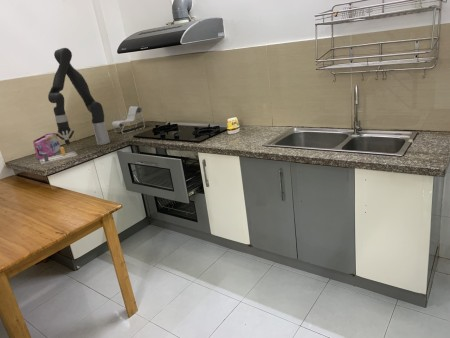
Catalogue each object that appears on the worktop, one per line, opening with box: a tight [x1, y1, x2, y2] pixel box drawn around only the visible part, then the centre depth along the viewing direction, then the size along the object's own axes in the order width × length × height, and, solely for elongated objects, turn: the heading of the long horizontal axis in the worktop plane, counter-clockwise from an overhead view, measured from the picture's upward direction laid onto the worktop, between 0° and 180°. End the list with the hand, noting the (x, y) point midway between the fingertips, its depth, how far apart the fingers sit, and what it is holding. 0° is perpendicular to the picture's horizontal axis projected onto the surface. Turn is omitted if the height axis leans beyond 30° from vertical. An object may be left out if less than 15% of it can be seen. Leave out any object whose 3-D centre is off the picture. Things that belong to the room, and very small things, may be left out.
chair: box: [111, 105, 146, 135], centre depth 313 cm, size 13×25×20 cm, turn 134°
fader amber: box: [59, 146, 66, 155], centre depth 255 cm, size 2×4×5 cm
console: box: [39, 150, 78, 165], centre depth 252 cm, size 24×12×2 cm, turn 121°
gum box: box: [32, 132, 61, 160], centre depth 264 cm, size 24×8×14 cm, turn 0°
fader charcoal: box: [43, 153, 49, 161], centre depth 244 cm, size 2×4×5 cm
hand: (67, 144), depth 256 cm, fingers closed
